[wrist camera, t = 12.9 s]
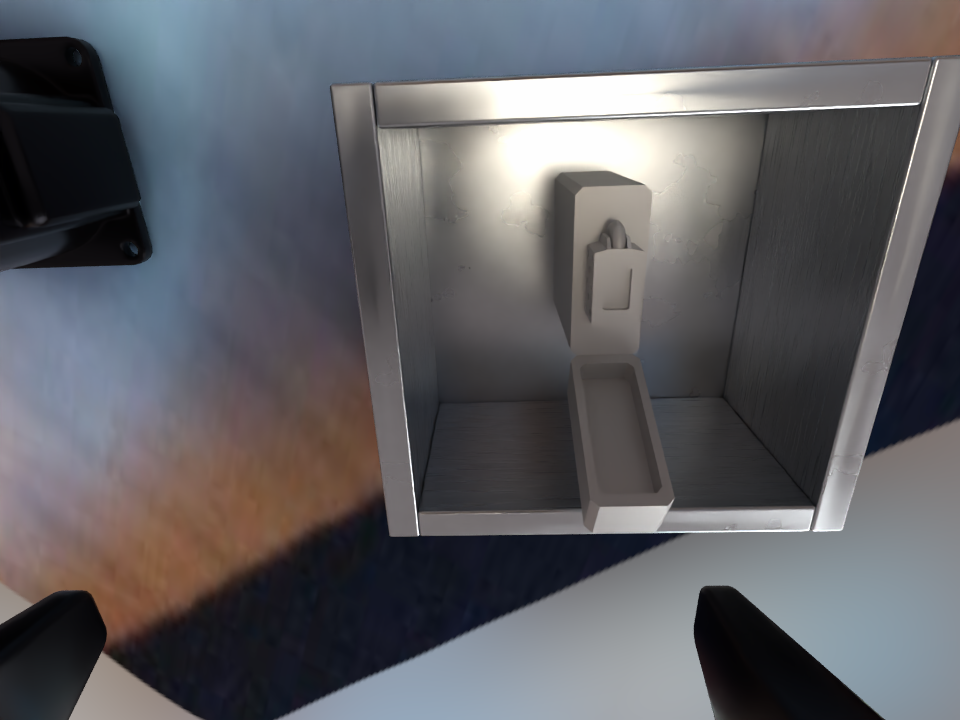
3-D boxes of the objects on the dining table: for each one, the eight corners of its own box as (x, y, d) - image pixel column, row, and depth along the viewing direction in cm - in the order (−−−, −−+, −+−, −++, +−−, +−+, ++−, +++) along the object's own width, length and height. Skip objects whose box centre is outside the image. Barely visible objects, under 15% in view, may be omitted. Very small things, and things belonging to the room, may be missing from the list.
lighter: (555, 172, 16) (607, 210, 9) (613, 170, 16) (716, 207, 9) (552, 385, 19) (588, 551, 11) (601, 384, 19) (670, 550, 11)
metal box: (421, 411, 20) (389, 537, 14) (392, 100, 16) (328, 83, 10) (733, 404, 20) (843, 532, 14) (788, 83, 16) (983, 53, 9)
